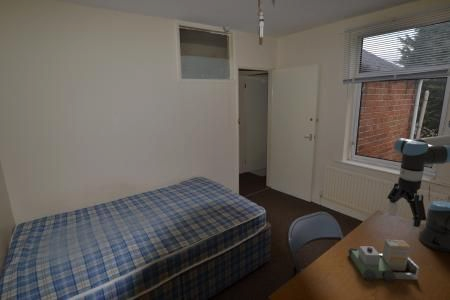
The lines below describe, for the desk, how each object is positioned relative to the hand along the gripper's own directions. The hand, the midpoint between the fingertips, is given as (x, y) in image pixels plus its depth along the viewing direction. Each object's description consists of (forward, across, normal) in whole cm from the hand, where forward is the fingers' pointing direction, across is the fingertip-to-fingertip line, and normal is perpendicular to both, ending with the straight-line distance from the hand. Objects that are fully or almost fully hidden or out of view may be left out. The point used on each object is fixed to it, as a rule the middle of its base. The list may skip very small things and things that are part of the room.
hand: (402, 223), depth 102 cm
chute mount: (+23, +1, -1) cm, 23 cm away
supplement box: (+23, +1, -1) cm, 23 cm away
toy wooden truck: (+22, +1, -12) cm, 25 cm away
